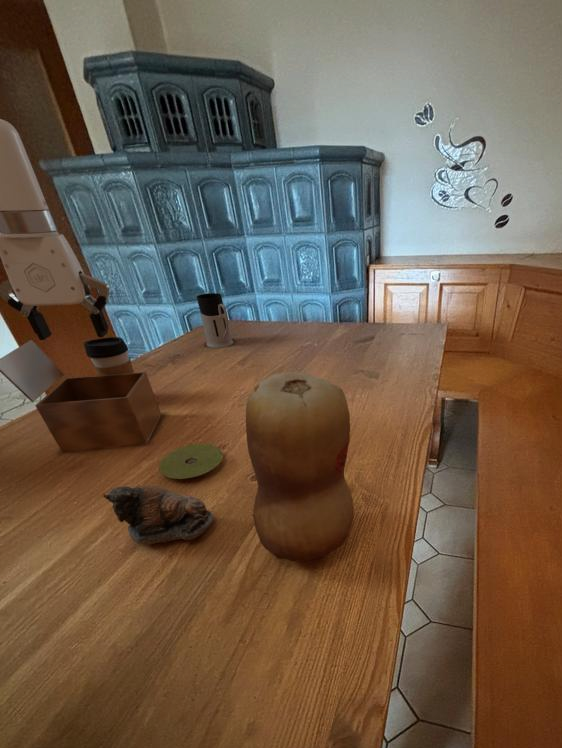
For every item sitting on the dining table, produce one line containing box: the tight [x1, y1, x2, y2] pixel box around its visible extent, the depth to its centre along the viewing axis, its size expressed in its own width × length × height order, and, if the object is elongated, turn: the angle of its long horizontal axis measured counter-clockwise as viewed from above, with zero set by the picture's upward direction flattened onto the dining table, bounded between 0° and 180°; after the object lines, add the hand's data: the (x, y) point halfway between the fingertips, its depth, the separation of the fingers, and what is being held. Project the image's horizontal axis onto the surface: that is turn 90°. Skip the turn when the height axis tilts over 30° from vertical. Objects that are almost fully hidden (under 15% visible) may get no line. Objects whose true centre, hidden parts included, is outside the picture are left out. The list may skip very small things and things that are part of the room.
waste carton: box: [34, 371, 162, 453], centre depth 80 cm, size 16×13×10 cm
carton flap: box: [0, 339, 65, 403], centre depth 72 cm, size 8×13×1 cm
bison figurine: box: [102, 484, 214, 546], centre depth 55 cm, size 12×7×10 cm, turn 108°
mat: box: [158, 443, 224, 480], centre depth 71 cm, size 11×11×2 cm
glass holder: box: [196, 292, 234, 349], centre depth 123 cm, size 9×14×15 cm, turn 43°
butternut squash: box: [245, 371, 355, 562], centre depth 49 cm, size 14×13×25 cm
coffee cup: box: [83, 336, 135, 376], centre depth 90 cm, size 8×8×15 cm
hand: (75, 336), depth 70 cm, fingers open, 9 cm apart
